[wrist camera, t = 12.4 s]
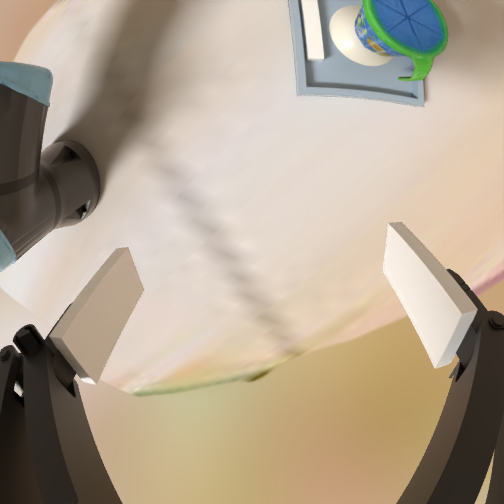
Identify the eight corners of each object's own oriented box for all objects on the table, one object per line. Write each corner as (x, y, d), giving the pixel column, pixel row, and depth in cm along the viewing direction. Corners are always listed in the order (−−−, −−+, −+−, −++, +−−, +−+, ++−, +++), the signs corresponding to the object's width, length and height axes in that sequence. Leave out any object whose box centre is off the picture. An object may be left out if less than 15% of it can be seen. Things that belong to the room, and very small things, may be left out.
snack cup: (420, 85, 27) (461, 84, 18) (354, 83, 29) (384, 75, 20) (396, -5, 20) (428, -27, 11) (330, -12, 21) (347, -43, 12)
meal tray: (297, 95, 31) (299, 94, 29) (284, -23, 22) (285, -31, 19) (415, 106, 30) (424, 107, 27) (401, -6, 20) (408, -11, 18)
